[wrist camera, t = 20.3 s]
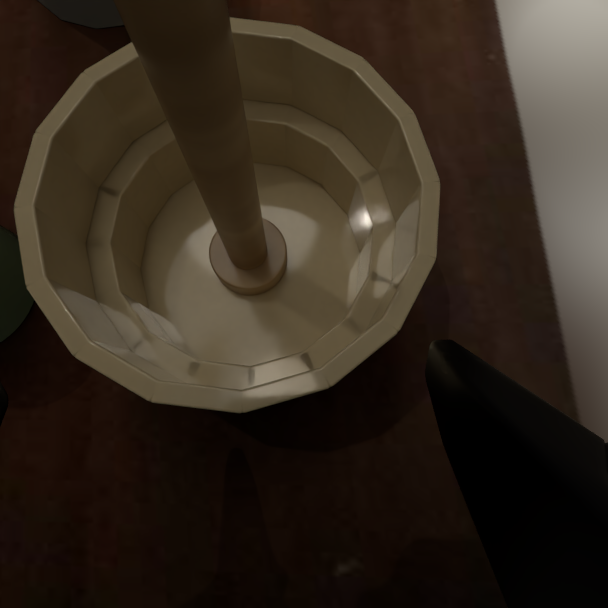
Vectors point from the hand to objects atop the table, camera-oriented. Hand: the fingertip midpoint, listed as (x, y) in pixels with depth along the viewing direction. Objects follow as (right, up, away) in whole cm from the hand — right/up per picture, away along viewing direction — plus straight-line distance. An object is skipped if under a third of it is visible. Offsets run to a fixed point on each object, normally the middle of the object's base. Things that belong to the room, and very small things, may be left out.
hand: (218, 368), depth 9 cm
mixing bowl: (-1, +3, +10) cm, 11 cm away
